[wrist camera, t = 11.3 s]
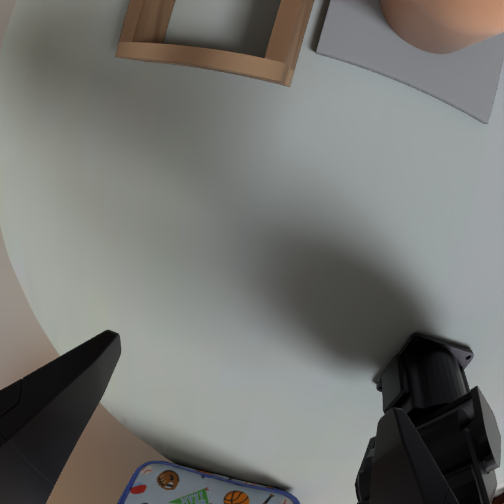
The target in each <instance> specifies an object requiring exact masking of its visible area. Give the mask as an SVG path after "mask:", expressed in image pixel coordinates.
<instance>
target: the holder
mask: <svg viewBox="0 0 504 504" xmlns="http://www.w3.org/2000/svg"><path fill="white" fill-rule="evenodd" d="M174 3H175V0H130V3H129V6H128V10H127V13H126V17H125V20H124V24H123V28H122V31H121V35H120V39H119V44H118V48H117V52H116V56H115V57H118V58H126V59H133V60H140V61H146V62H156V63H166V64H174V65H182V66H189V67H196V68H203V69H209V70H215V71H220V72H226V73H231V74H236V75H241V76H246V77H250V78H255V79H259V80H264V81H268V82H272V83H276V84H280V85H284V86H288V87H290V84H291V80H292V76H293V73H294V69H295V66H296V62H297V59H298V55H299V52H300V48H301V45H302V41H303V38H304V34H305V31H306V27H307V24H308V20H309V17H310V13H311V10H312V6H313V3H314V0H281V2H280V6H279V9H278V13H277V16H276V19H275V23H274V26H273V30H272V33H271V37H270V40H269V44H268V47H267V51H266V54H265V58H261V57H256V56H251V55H245V54H240V53H234V52H228V51H222V50H215V49H208V48H201V47H192V46H183V45H172V44H163V42H164V38H165V34H166V30H167V27H168V23H169V20H170V16H171V13H172V9H173V6H174Z"/></svg>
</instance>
